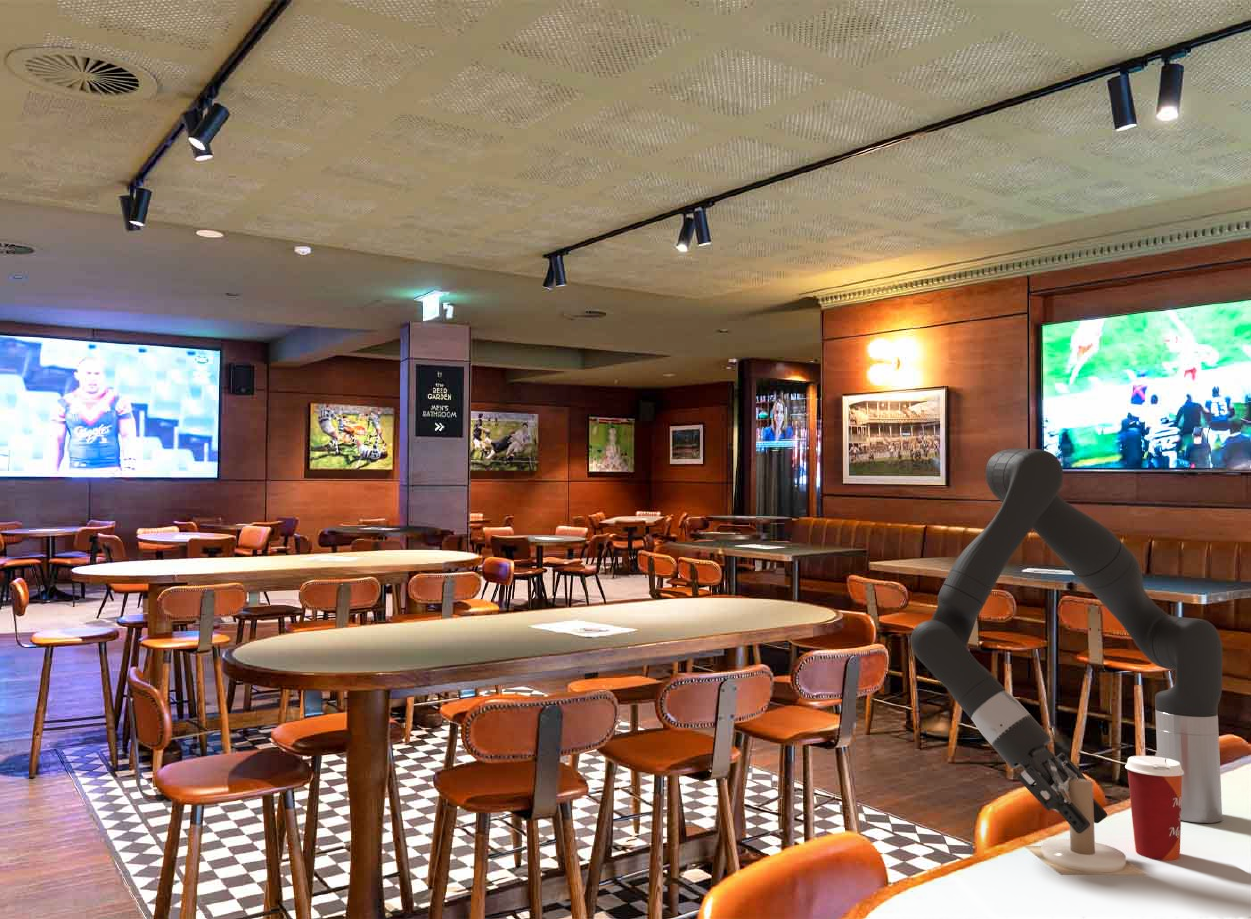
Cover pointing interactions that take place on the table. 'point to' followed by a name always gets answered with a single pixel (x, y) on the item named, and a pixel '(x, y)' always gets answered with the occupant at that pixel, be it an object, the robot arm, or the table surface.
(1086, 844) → the beige peg stand
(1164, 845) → the paper cup
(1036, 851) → the cork mat
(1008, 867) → the table surface
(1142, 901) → the table surface
